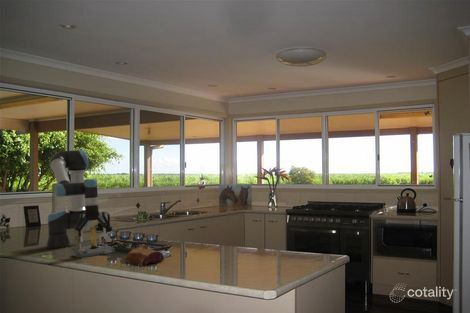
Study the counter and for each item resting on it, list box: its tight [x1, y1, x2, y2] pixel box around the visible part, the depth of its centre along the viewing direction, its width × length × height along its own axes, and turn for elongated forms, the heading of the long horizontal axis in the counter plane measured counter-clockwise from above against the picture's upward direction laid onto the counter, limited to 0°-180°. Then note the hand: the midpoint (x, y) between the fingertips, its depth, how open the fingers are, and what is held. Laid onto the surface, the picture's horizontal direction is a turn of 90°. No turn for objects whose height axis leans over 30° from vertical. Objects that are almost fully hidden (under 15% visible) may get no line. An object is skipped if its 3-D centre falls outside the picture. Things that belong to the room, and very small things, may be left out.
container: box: [98, 225, 117, 245], centre depth 296 cm, size 8×8×13 cm
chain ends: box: [72, 245, 116, 259], centre depth 269 cm, size 10×22×4 cm, turn 121°
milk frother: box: [92, 211, 111, 231], centre depth 386 cm, size 14×16×15 cm
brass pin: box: [89, 226, 98, 249], centre depth 270 cm, size 3×3×16 cm
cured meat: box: [124, 247, 165, 267], centre depth 242 cm, size 18×25×7 cm
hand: (93, 240), depth 270 cm, fingers open, 13 cm apart
